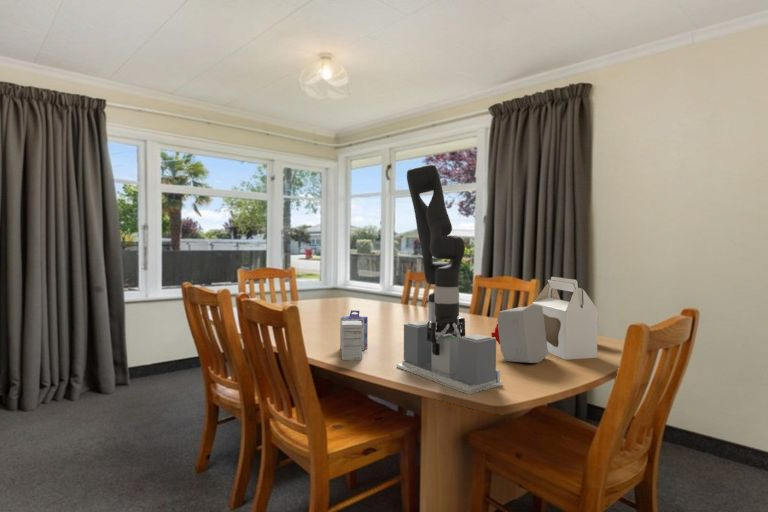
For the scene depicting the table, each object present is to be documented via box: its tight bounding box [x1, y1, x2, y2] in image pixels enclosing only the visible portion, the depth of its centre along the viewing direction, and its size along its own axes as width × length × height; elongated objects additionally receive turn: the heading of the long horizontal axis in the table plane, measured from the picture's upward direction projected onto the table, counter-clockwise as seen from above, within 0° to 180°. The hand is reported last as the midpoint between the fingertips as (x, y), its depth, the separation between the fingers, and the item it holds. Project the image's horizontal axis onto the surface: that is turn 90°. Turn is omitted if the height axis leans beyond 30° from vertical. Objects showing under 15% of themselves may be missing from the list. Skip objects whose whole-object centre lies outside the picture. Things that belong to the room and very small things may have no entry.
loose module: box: [431, 334, 459, 374], centre depth 136 cm, size 5×8×10 cm, turn 36°
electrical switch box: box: [491, 304, 549, 364], centre depth 158 cm, size 15×15×20 cm
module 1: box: [403, 321, 432, 365], centre depth 146 cm, size 8×7×12 cm
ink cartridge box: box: [339, 309, 369, 351], centre depth 171 cm, size 10×6×14 cm, turn 78°
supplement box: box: [341, 321, 363, 361], centre depth 157 cm, size 7×7×13 cm
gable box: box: [531, 276, 599, 361], centre depth 167 cm, size 22×13×28 cm, turn 12°
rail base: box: [396, 360, 503, 395], centre depth 137 cm, size 14×32×4 cm, turn 36°
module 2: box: [458, 333, 497, 386], centre depth 126 cm, size 8×7×12 cm
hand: (446, 352), depth 136 cm, fingers open, 8 cm apart
